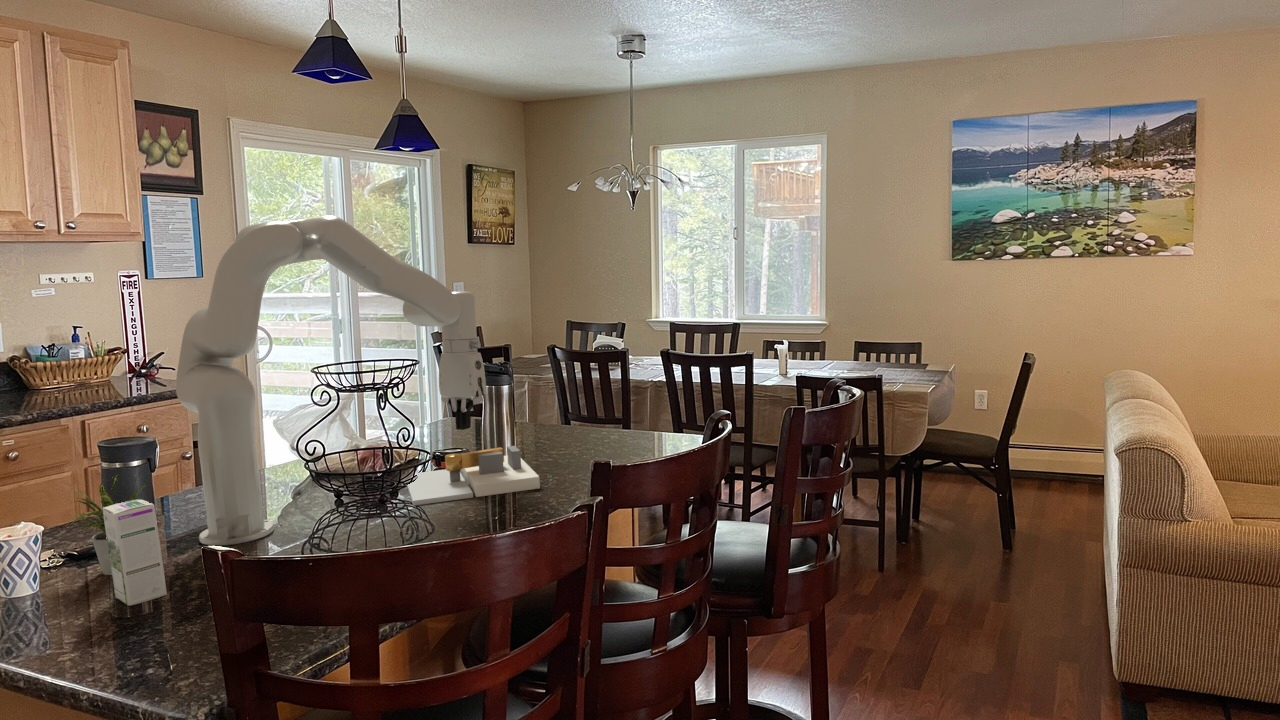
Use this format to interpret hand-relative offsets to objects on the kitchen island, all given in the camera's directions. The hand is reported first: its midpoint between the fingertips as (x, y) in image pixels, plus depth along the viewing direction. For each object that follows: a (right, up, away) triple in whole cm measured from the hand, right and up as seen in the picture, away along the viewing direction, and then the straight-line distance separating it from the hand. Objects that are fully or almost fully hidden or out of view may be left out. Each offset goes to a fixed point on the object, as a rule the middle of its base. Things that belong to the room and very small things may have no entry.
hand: (463, 428), depth 198 cm
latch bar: (+3, -8, -4) cm, 10 cm away
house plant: (-49, -20, -49) cm, 72 cm away
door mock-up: (+2, -12, -5) cm, 13 cm away
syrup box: (-36, -21, -63) cm, 76 cm away
